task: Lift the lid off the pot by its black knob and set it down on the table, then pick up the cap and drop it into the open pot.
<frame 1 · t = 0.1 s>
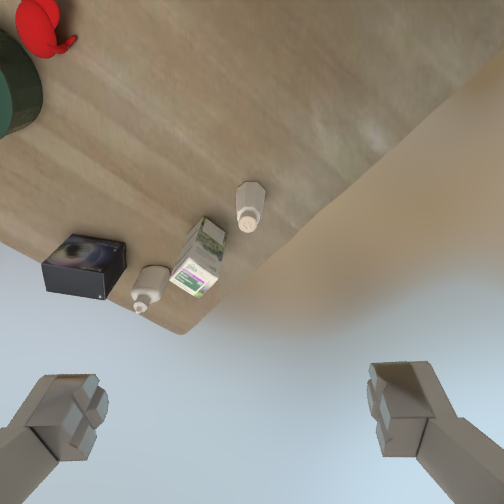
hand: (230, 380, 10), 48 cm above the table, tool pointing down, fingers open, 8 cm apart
small box: (100, 250, 66), on the table
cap: (57, 27, 46), on the table
salt shaker: (250, 194, 58), on the table
eye dropper bottle: (157, 271, 68), on the table
syrup box: (207, 233, 63), on the table
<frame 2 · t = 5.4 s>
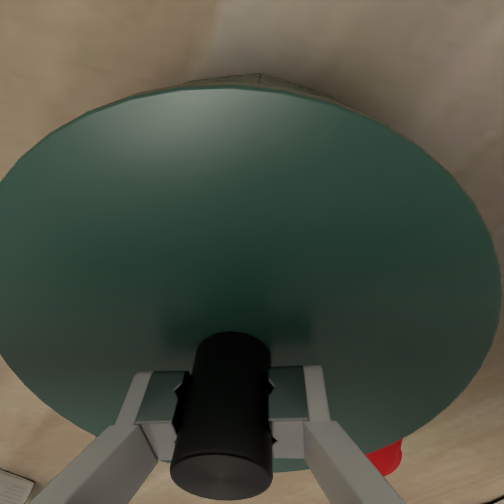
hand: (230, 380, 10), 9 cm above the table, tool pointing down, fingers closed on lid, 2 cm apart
pot: (246, 232, 17), on the table
lid: (235, 342, 11), point 7 cm above the table, touching gripper, pot
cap: (335, 377, 24), on the table
syrup box: (2, 479, 35), on the table
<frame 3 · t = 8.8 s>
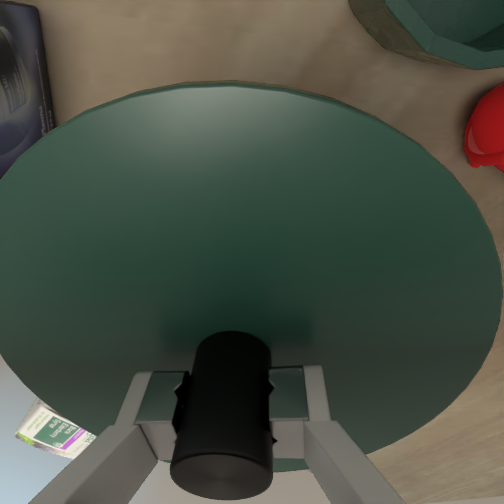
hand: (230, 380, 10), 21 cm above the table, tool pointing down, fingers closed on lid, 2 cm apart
lid: (235, 341, 11), point 19 cm above the table, touching gripper
small box: (13, 83, 25), on the table
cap: (496, 128, 25), on the table
syrup box: (129, 302, 37), on the table
when the fingers open (2 cm above the table, at t = 12.5 s): lid stays where it is, point 1 cm above the table.
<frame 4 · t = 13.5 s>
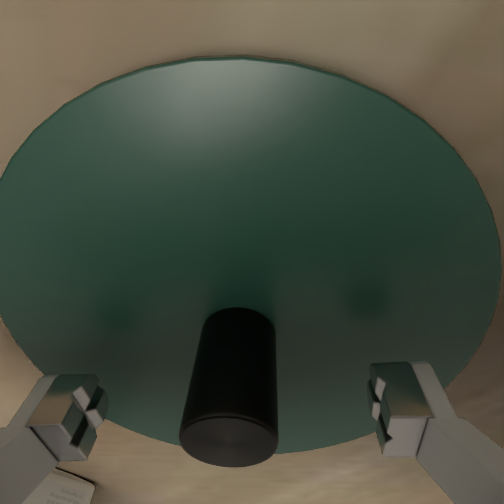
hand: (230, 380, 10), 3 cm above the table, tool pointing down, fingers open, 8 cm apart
lid: (240, 320, 11), point 1 cm above the table
syrup box: (38, 479, 20), on the table
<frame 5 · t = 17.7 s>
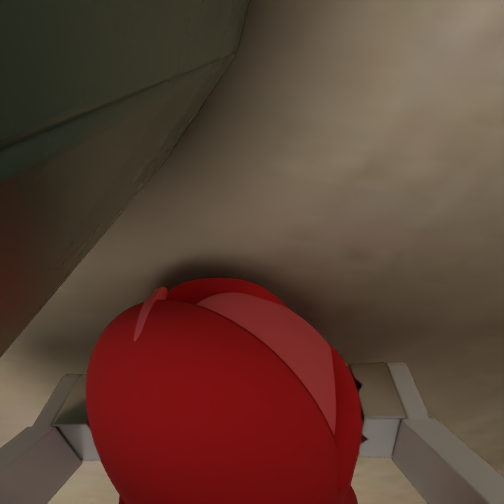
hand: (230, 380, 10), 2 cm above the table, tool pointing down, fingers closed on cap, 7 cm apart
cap: (237, 332, 12), on the table, touching gripper
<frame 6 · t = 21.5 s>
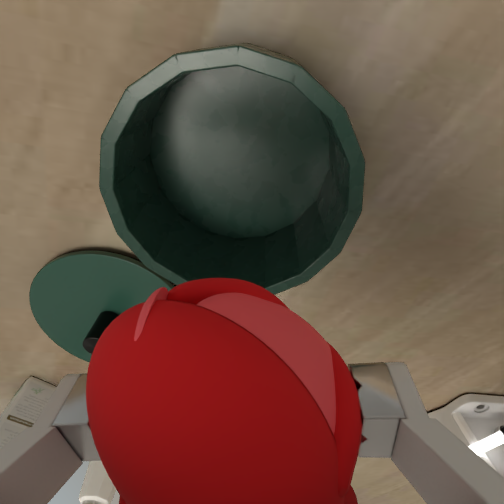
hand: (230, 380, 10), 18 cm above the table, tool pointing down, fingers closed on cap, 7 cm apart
pot: (240, 159, 25), on the table
lid: (113, 315, 33), point 1 cm above the table
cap: (237, 332, 12), point 16 cm above the table, touching gripper
salt shaker: (120, 430, 47), on the table
syrup box: (45, 393, 43), on the table
when the fingers open (5 cm above the table, at t = 25.5 s): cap drops 2 cm, resting on pot.
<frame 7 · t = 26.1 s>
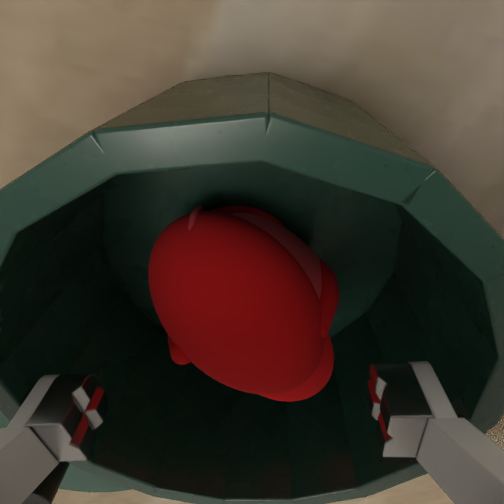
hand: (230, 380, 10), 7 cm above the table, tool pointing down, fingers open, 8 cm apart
pot: (249, 251, 15), on the table
lid: (64, 434, 24), point 1 cm above the table
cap: (248, 257, 15), resting on pot
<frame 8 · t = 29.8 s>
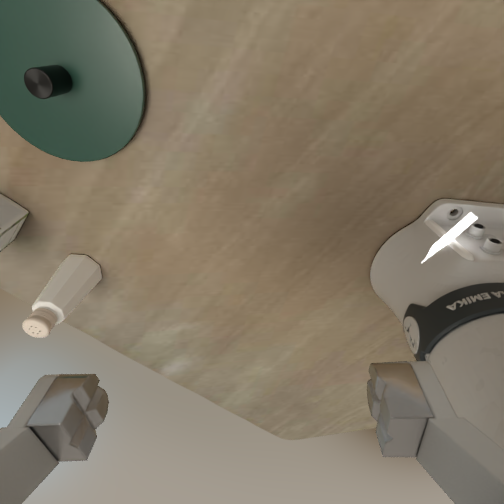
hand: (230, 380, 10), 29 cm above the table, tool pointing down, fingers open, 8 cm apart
lid: (63, 78, 32), point 1 cm above the table
salt shaker: (83, 268, 45), on the table
syrup box: (1, 212, 41), on the table
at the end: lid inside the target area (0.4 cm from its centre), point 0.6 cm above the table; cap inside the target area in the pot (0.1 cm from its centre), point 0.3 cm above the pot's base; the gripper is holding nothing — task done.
